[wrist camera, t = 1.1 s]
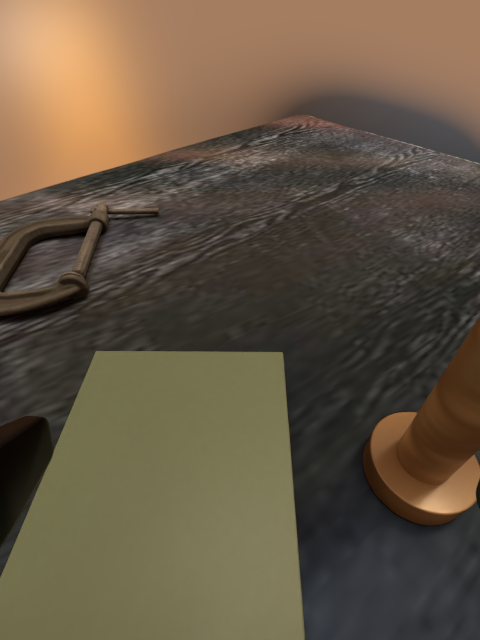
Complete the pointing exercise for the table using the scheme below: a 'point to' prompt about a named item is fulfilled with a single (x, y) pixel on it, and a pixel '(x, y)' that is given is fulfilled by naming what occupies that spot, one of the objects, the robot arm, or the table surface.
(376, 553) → the table surface
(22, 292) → the c clamp
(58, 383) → the table surface
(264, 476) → the shelf
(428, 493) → the wooden peg stand
